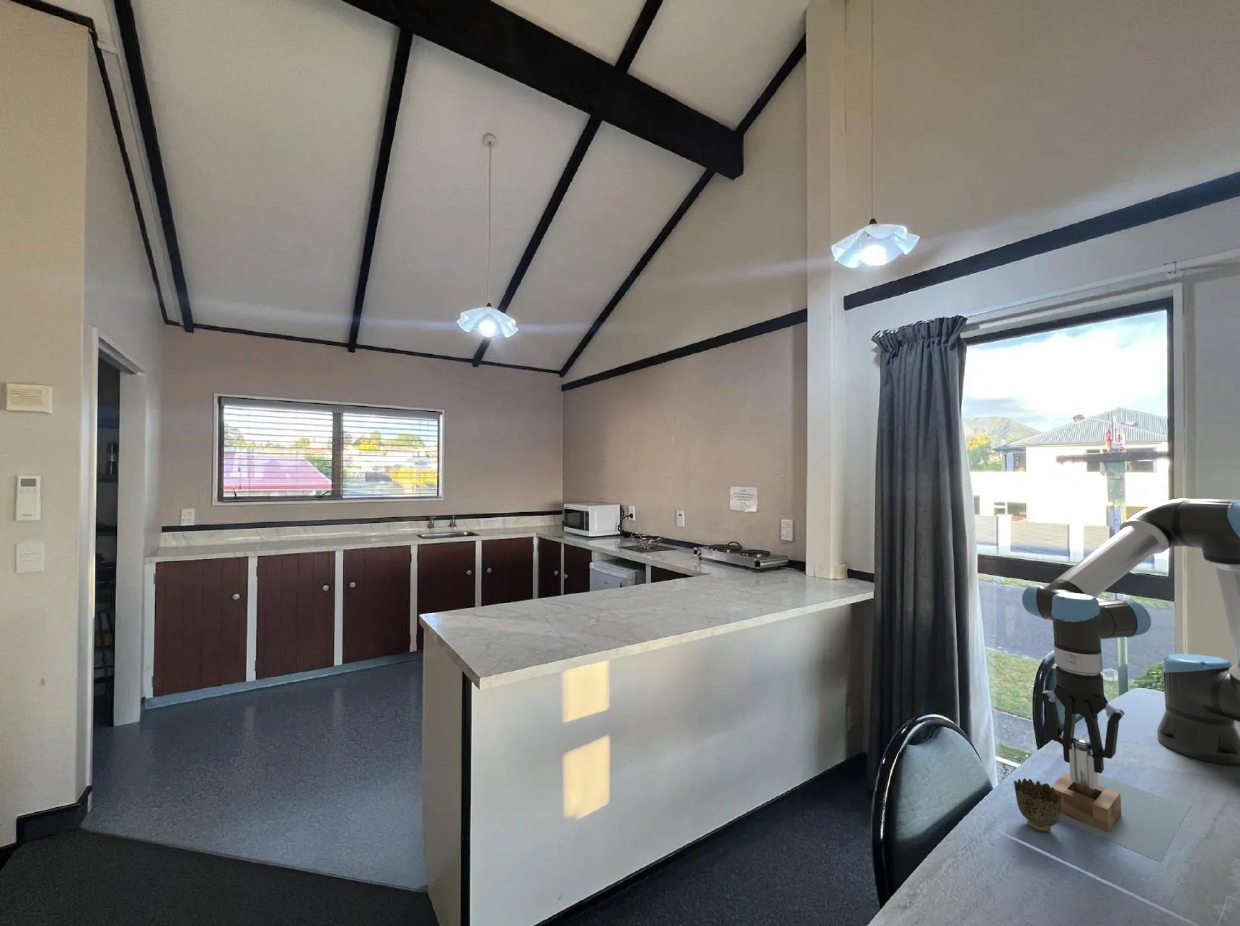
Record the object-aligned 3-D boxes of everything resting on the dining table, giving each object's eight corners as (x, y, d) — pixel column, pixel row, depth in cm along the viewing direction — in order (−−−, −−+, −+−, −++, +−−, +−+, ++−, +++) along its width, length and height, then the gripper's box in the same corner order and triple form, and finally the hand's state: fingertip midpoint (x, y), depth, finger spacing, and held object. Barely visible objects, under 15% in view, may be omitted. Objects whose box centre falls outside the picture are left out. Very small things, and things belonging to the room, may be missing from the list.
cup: (1072, 844, 98) (1070, 802, 99) (1029, 839, 100) (1027, 798, 100) (1048, 818, 106) (1046, 779, 106) (1008, 814, 107) (1006, 776, 107)
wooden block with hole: (1065, 793, 113) (1064, 772, 113) (1121, 815, 106) (1120, 792, 106) (1051, 809, 108) (1050, 787, 108) (1108, 833, 101) (1107, 809, 101)
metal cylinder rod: (1079, 802, 109) (1075, 736, 109) (1097, 809, 106) (1093, 741, 107) (1075, 808, 107) (1070, 740, 108) (1093, 815, 105) (1089, 746, 105)
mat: (1078, 769, 122) (1078, 767, 122) (1189, 808, 107) (1189, 806, 107) (1038, 812, 108) (1037, 810, 108) (1160, 864, 93) (1160, 861, 93)
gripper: (1026, 662, 112) (1032, 772, 111) (1123, 685, 99) (1130, 808, 98) (1039, 655, 116) (1045, 760, 115) (1133, 675, 103) (1140, 794, 103)
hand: (1084, 782), depth 107 cm, fingers closed on metal cylinder rod, 2 cm apart
